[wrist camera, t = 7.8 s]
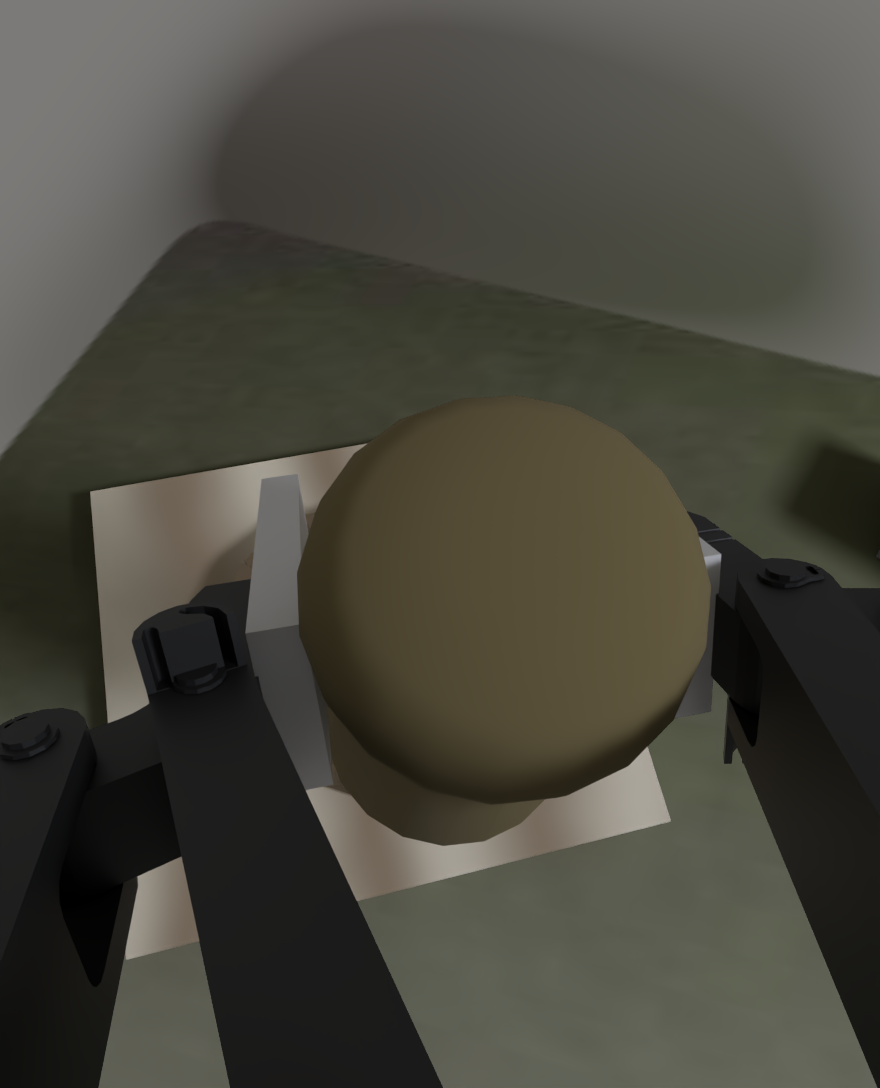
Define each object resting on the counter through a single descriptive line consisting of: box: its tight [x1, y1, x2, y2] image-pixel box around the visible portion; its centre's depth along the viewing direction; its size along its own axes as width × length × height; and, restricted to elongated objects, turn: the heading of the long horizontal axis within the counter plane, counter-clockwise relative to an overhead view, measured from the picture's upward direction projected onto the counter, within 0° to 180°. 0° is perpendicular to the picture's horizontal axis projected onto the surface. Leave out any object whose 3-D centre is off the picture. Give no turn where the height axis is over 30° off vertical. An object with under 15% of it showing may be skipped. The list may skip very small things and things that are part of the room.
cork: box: [297, 396, 711, 846], centre depth 13 cm, size 6×6×11 cm
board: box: [90, 444, 671, 960], centre depth 31 cm, size 20×18×1 cm
